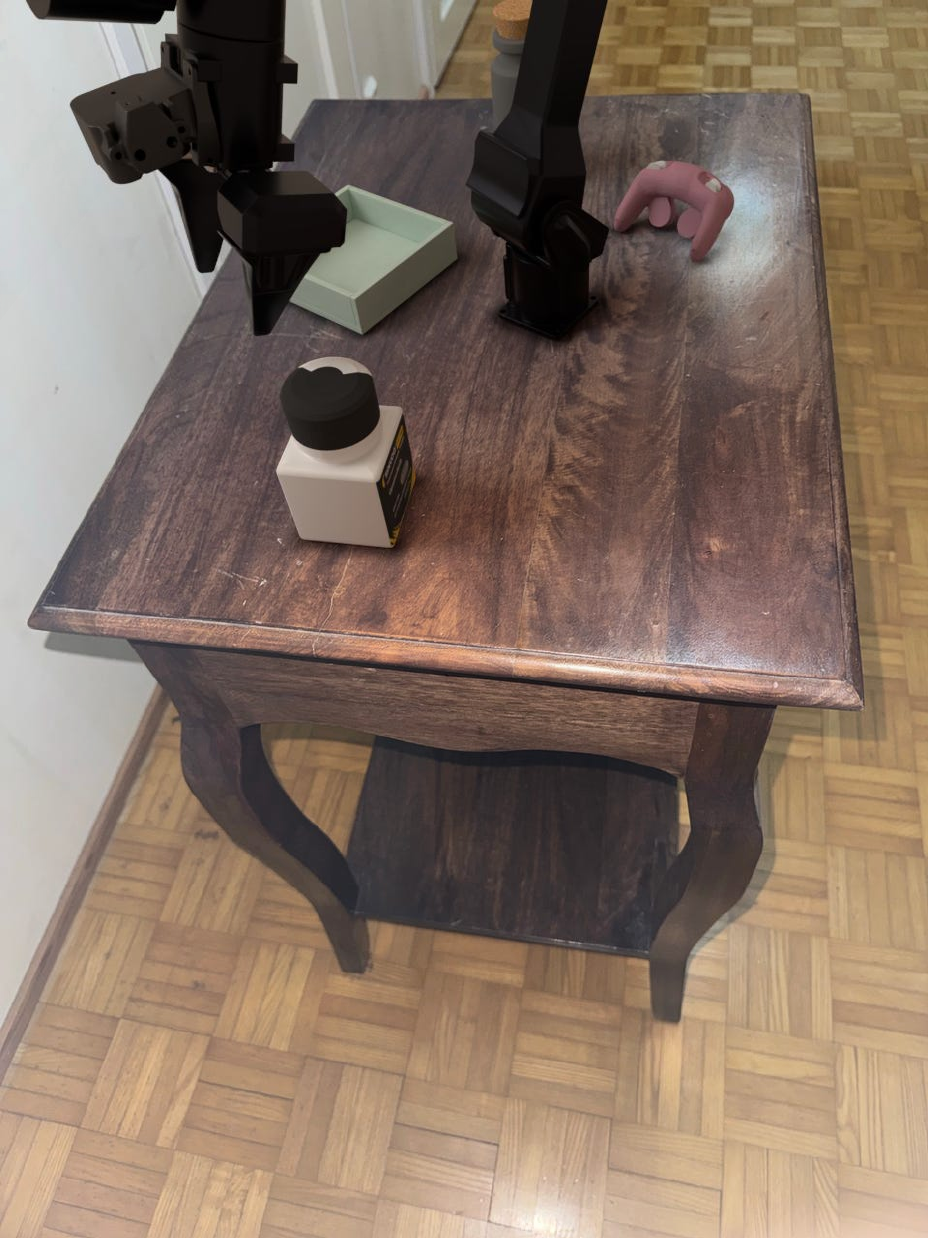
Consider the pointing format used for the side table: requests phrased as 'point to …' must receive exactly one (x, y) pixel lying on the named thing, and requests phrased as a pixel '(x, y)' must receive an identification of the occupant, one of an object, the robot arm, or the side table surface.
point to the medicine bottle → (344, 456)
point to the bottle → (507, 53)
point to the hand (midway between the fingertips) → (231, 301)
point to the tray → (376, 261)
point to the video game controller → (686, 185)
